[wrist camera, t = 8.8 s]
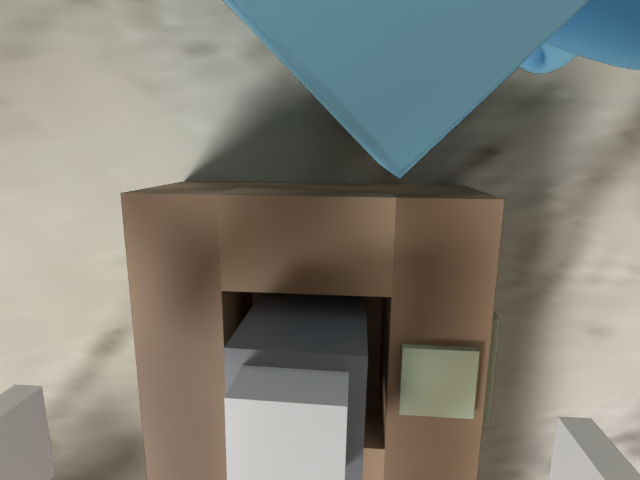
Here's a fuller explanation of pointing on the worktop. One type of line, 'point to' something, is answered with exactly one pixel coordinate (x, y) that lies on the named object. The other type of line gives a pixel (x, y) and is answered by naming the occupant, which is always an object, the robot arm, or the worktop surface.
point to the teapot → (430, 57)
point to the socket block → (323, 279)
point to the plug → (297, 389)
